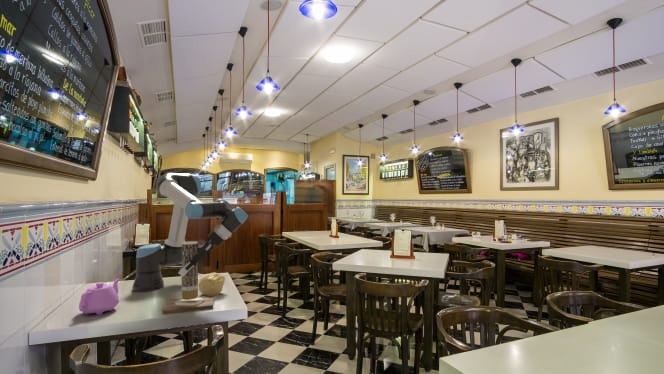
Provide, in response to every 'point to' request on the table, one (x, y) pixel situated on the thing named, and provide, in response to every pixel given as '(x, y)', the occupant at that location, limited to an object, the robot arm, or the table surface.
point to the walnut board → (188, 304)
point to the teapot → (99, 298)
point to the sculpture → (211, 284)
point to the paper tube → (192, 275)
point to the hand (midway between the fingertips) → (181, 273)
